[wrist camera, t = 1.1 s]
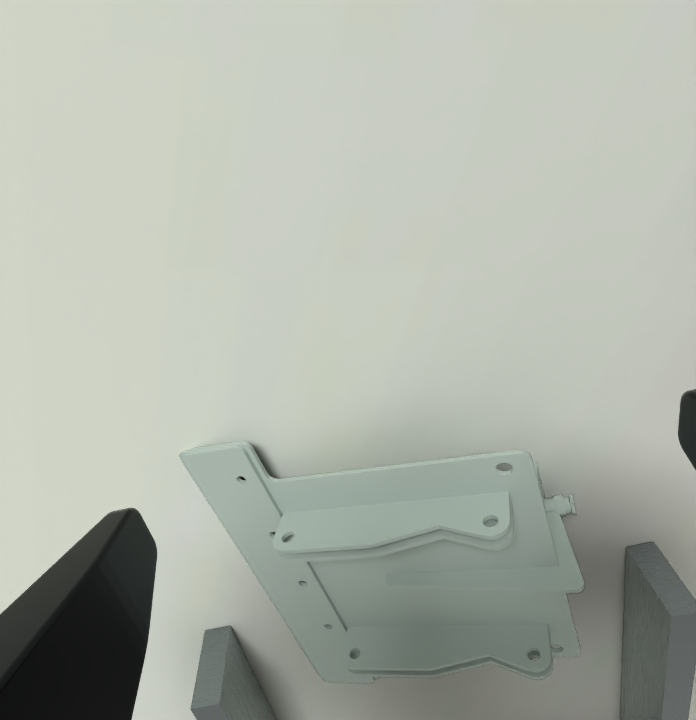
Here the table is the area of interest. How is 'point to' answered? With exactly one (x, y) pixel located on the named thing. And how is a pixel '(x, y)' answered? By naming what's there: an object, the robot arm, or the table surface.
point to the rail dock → (639, 659)
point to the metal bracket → (405, 561)
